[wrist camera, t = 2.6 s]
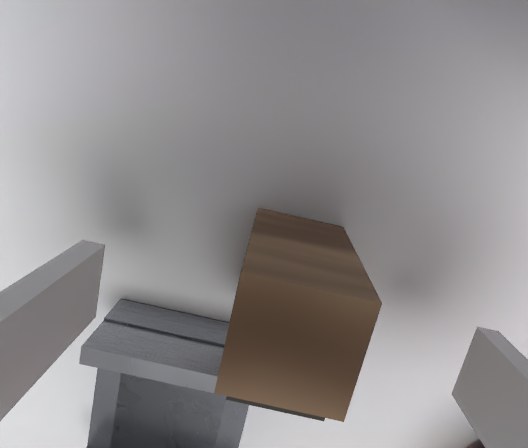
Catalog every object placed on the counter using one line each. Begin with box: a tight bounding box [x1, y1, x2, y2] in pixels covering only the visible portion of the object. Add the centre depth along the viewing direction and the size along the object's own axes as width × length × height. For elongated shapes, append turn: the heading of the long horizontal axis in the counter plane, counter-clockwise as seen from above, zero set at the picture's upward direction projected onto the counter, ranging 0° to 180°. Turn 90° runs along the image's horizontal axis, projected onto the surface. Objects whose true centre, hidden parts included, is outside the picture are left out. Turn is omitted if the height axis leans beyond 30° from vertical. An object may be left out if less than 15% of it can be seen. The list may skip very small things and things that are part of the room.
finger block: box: [214, 208, 382, 422], centre depth 16 cm, size 5×4×8 cm
